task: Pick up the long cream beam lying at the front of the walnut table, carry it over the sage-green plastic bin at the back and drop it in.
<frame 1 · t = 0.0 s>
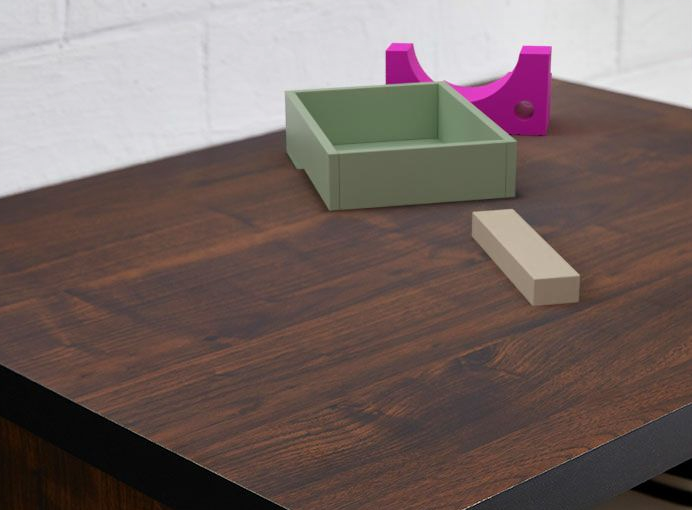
bin: (392, 179, 116), on the cabinet top
long cream beam: (521, 283, 93), on the cabinet top
toy block: (468, 126, 132), on the cabinet top
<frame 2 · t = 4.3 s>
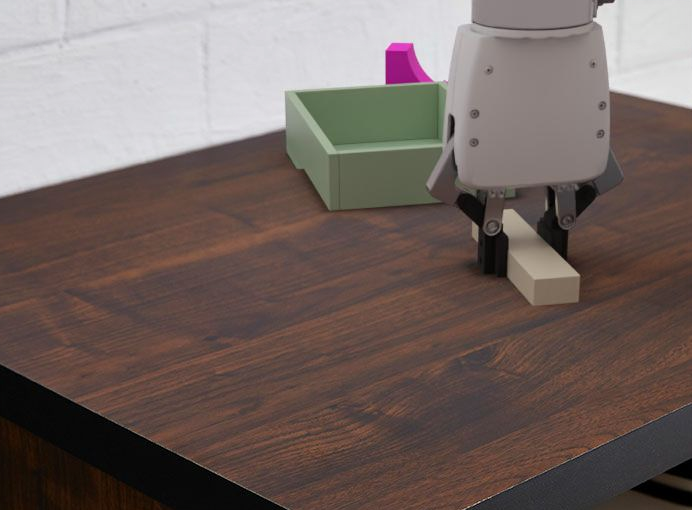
hand: (521, 280, 93), 0 cm above the cabinet top, tool pointing down, fingers closed on long cream beam, 3 cm apart
long cream beam: (521, 283, 93), on the cabinet top, touching gripper
everything else where it was.
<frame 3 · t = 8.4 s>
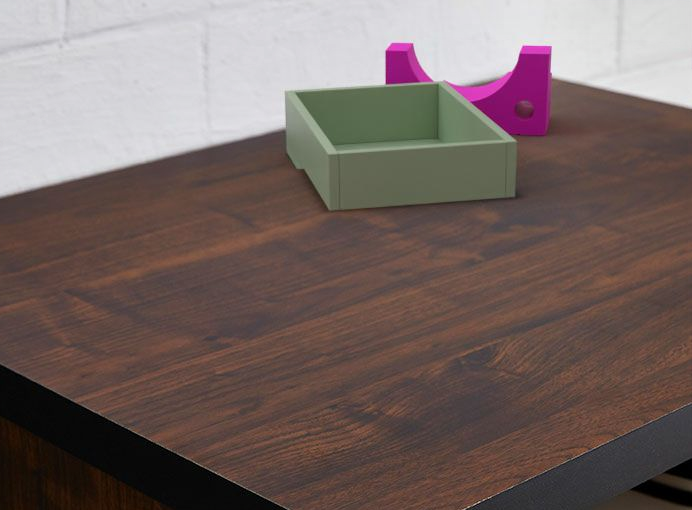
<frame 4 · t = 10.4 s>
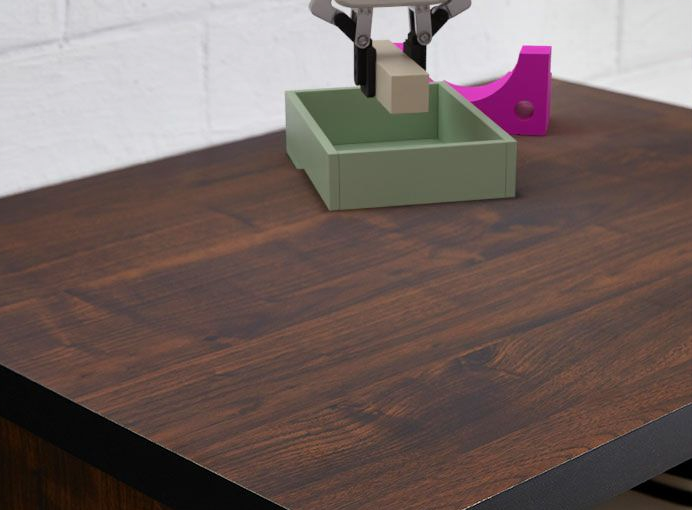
hand: (389, 90, 113), 8 cm above the cabinet top, tool pointing down, fingers closed on long cream beam, 3 cm apart
long cream beam: (389, 93, 113), point 7 cm above the cabinet top, touching gripper
everything else where it was.
when the fingers open (1 cm above the cabinet top, at t = 12.4 s): long cream beam stays where it is, resting on bin.
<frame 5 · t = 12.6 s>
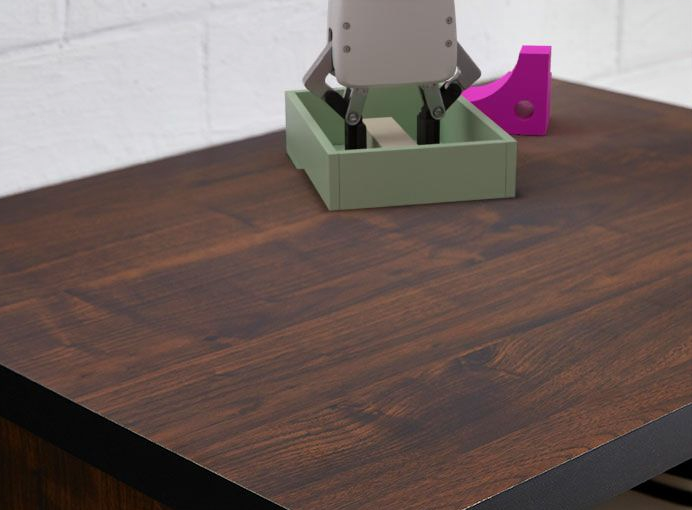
hand: (392, 163, 115), 1 cm above the cabinet top, tool pointing down, fingers open, 5 cm apart
long cream beam: (392, 173, 116), point 1 cm above the cabinet top, touching bin
everything else where it was.
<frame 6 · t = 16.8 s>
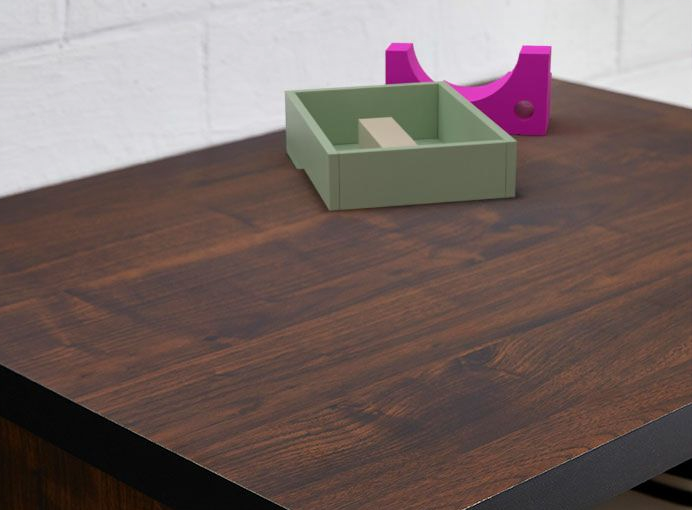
nothing on the cabinet top moved.
at the end: long cream beam inside the target area in the bin (0.1 cm from its centre), point 0.6 cm above the bin's base; the gripper is holding nothing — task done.
